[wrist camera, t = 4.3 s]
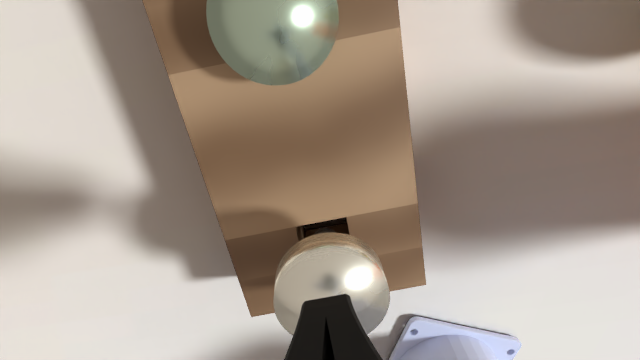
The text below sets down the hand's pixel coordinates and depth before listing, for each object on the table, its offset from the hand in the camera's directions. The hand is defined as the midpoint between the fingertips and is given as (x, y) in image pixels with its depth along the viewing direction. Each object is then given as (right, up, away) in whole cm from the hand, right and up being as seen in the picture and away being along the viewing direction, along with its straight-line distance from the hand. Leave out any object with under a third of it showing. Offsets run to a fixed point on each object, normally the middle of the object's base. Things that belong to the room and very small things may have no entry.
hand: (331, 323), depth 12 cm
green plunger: (-2, +11, +6) cm, 13 cm away
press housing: (-1, +7, +8) cm, 11 cm away
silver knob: (0, +1, +7) cm, 7 cm away
